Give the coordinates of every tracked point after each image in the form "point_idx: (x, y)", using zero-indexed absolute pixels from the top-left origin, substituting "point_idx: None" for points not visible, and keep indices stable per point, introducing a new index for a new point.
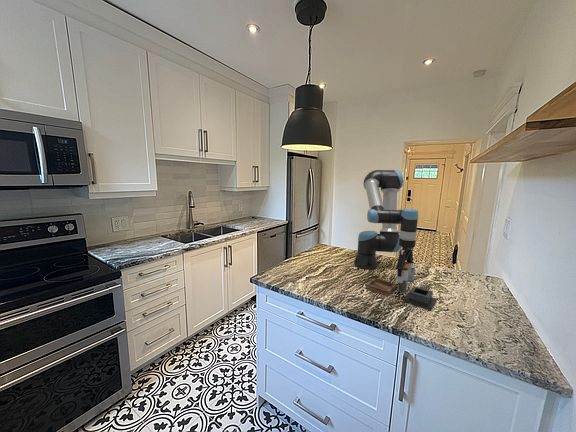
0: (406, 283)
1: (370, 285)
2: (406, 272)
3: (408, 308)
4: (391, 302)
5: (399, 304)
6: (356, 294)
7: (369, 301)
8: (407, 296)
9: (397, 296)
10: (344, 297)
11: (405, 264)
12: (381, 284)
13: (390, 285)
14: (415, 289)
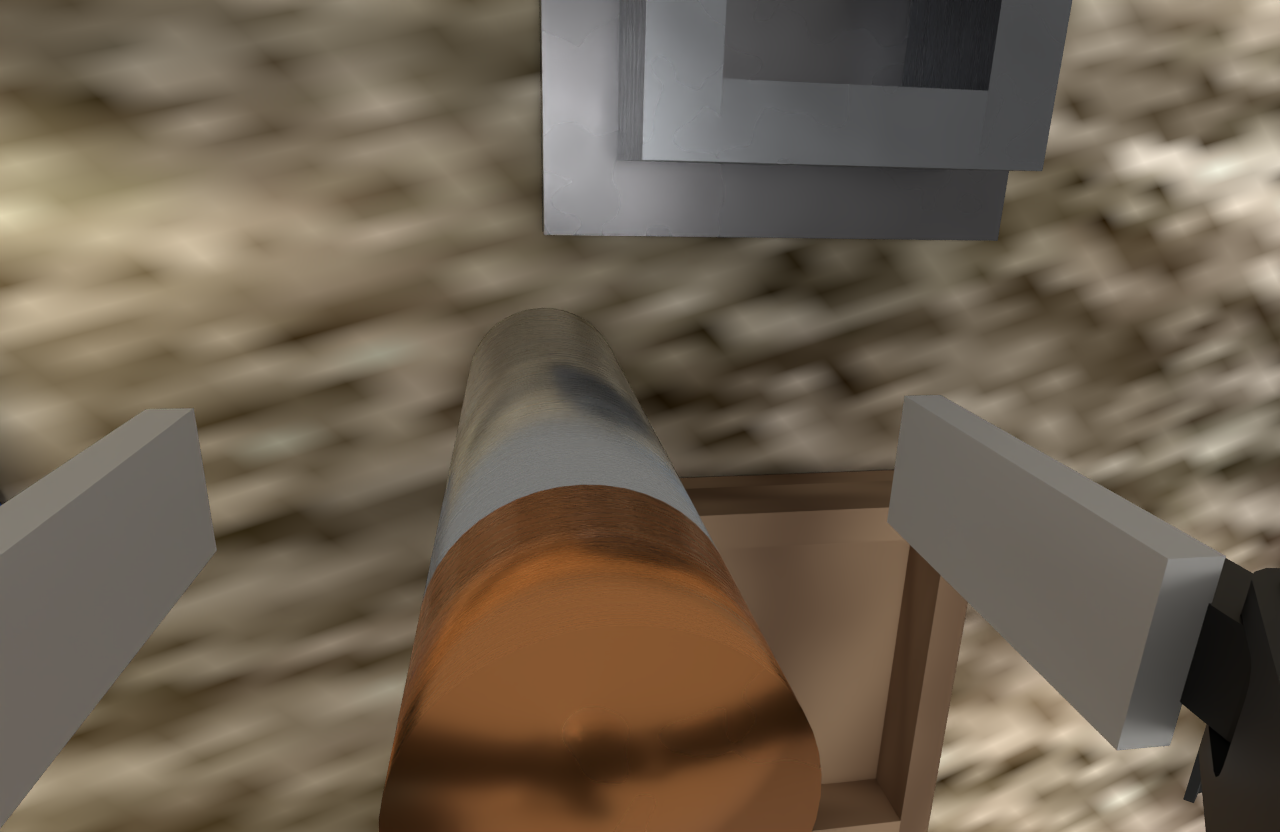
0: (582, 353)
1: (920, 786)
2: (670, 482)
3: (1151, 95)
4: (1091, 365)
5: (1093, 250)
6: (1105, 774)
7: None
8: (844, 210)
9: (839, 364)
10: None
11: (738, 748)
12: None
13: None
14: (789, 83)
